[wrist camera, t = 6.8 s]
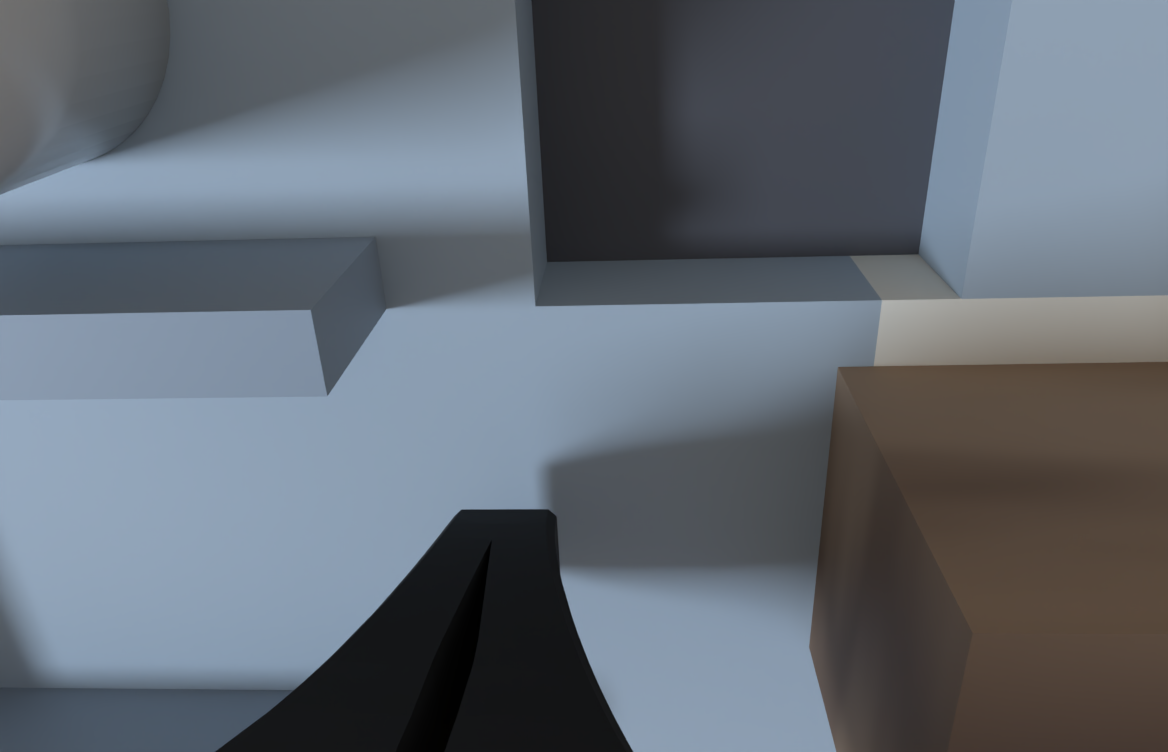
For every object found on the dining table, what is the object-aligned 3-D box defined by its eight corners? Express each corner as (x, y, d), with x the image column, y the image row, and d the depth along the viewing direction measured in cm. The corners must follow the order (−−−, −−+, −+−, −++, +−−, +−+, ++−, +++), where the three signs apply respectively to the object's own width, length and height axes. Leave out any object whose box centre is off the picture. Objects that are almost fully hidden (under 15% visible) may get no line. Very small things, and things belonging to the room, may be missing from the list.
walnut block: (1132, 648, 13) (1384, 997, 9) (808, 646, 14) (898, 985, 9) (1226, 360, 11) (1626, 635, 7) (837, 366, 11) (972, 633, 7)
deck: (1161, 710, 17) (1333, 954, 13) (-16, 699, 18) (-201, 915, 14) (1586, -441, 9) (2356, -756, 5) (-502, -306, 10) (-1212, -468, 6)
